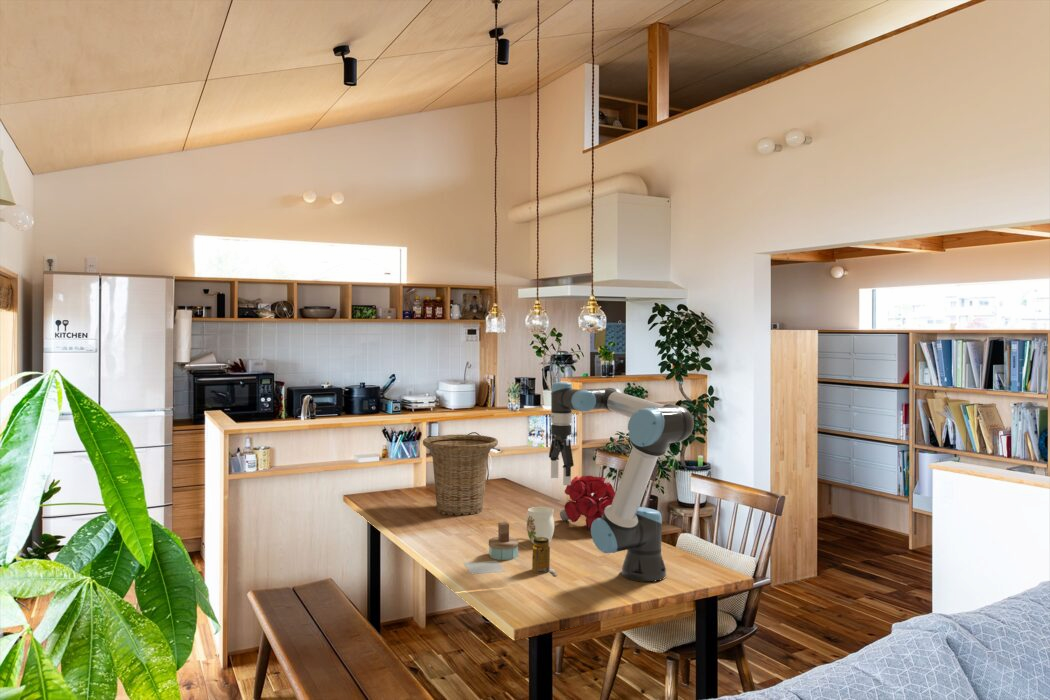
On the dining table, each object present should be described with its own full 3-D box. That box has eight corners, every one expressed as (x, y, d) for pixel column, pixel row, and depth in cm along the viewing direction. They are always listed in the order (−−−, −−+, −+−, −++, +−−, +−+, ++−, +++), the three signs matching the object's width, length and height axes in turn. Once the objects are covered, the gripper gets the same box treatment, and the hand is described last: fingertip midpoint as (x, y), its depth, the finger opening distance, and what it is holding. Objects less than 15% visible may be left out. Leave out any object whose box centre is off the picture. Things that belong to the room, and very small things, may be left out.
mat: (505, 573, 253) (505, 571, 253) (471, 576, 249) (471, 574, 249) (496, 562, 264) (496, 560, 264) (463, 565, 261) (464, 563, 261)
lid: (522, 547, 266) (522, 526, 266) (493, 550, 263) (493, 528, 263) (513, 539, 277) (513, 518, 277) (485, 541, 274) (485, 520, 273)
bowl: (520, 561, 267) (520, 547, 267) (493, 563, 264) (494, 549, 264) (512, 553, 276) (512, 540, 276) (487, 555, 273) (487, 542, 273)
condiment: (530, 570, 257) (530, 536, 257) (554, 569, 258) (554, 535, 257) (532, 576, 250) (532, 542, 249) (557, 576, 250) (557, 541, 250)
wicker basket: (469, 523, 318) (470, 447, 317) (406, 513, 335) (407, 441, 334) (511, 507, 348) (511, 438, 347) (451, 498, 366) (451, 432, 365)
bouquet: (553, 543, 313) (599, 520, 294) (537, 490, 322) (581, 465, 303) (588, 537, 327) (634, 515, 308) (572, 487, 336) (616, 463, 317)
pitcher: (538, 534, 301) (538, 501, 301) (563, 545, 286) (563, 511, 286) (515, 538, 296) (516, 504, 295) (539, 549, 280) (540, 514, 280)
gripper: (541, 420, 280) (540, 475, 280) (563, 428, 256) (562, 488, 256) (559, 419, 282) (558, 474, 282) (583, 428, 258) (582, 487, 259)
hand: (560, 481), depth 269 cm, fingers open, 13 cm apart
